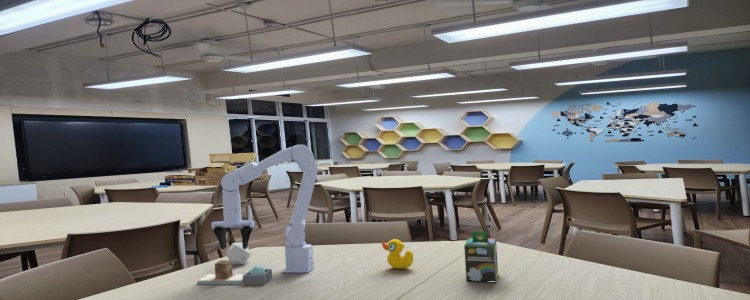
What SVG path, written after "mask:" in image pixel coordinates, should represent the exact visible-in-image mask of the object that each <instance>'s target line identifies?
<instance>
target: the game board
mask: <svg viewBox="0 0 750 300" xmlns="http://www.w3.org/2000/svg"><path fill="white" fill-rule="evenodd" d="M244 274H245V273H240V274H239V273H238V274H237V273H236V274H234V273H233V275H232V276H231V277H229V278H228V279H216V278H215V273H214V274H213V273H209V274H206V275H205V276H203V277H201V278H200V279H198V280H197V281H196V283H197V285H242V284H243V275H244Z"/></svg>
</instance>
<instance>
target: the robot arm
mask: <svg viewBox="0 0 750 300" xmlns="http://www.w3.org/2000/svg"><path fill="white" fill-rule="evenodd" d="M315 160H316V159H315V158H314V153H313V152H312V150H311V149H310V148H309V147H308V146H307V145H305V144H296V145H292V146H290V147H287V148H284V149H281V150H279V151H277V152H276V153H274V154H271V155H270V156H268V157H266V158H264V159H263V160H261V161H259V162H254V161H250V162H249V161H246V162H245V163H244V165H243V166H241V167H239V168H237V169H231V172H232V173H231V172H230V173H229V172H228V173H226V174H225V175H223V177H222V178H221V181H220V184H221V187H222V211H223V212H222V213H223V220H221V221H212V222H211V223H210V224H211V229H213V230H212V232H213V234H214V236H215V237H216V239H217V240H218V242H219V245H220V250H223V251H224V250H226V249H227V228H240V229H239V230H240V236H241V240H242V243H243V249H246V248H247V247H249V240H250V236H251V233H252V231H253V229H254V227H255V225H256V224H255V220H248V219H247V220H245V219H242V218H243V217H242V206H241V194H240V185H242V186H244V185H246V184H247V183H250V182H251V181H253V180H254V181H255V179H257V178H259V177H260V176H261V175H262V172H263V171H265V170H268V169H269V168H271V167H273V166H276V165H277V164H279V163H281V162H292V161H293V162H295V163H296V164H297V165H298V166H299V168H300V169H301V170H302V171H301V172H303V174H302V178H301V182H300V185H299V189H298V193H297V197H296V201H295V203H294V208H293V212H292V216H291V217H290V221H289V223H288V225H287V226H286V227H285V229H284V236H285V238H286V242H285V243H284V252H285V253H284V254H285V255H284V256H285V258H284V259H285V268H284V269H283V270H281V272H282V273H286V274H287V273H296V274H297V273H302V274H303V273H309V272H310V271H311V270H312V269H313V268H314V267H315V263H314V249H313V247H314V246H313V245H312V244H310V243H309V244H307V243H306V241H305V239H306V233H305V228H306V219H307V216H308V215H307V214H308V212H309V208H310V204H311V203H310V202H311V199H312V195H313V192H314V188H315V184H316V179H317V177H318V173H319V172H318V171H319V170H318V166H317V163H316V161H315Z"/></svg>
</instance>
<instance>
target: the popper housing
mask: <svg viewBox="0 0 750 300" xmlns="http://www.w3.org/2000/svg"><path fill="white" fill-rule="evenodd" d="M243 274H244V275H243V283H242V284H243V285H244V286H264V285H266V284H267V283H268V282H269V281H271V280H272V279H273V269H272V268H265V273H264V274H263V275H250V270H248V271H247V272H246V273H243Z"/></svg>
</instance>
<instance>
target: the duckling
mask: <svg viewBox="0 0 750 300" xmlns="http://www.w3.org/2000/svg"><path fill="white" fill-rule="evenodd" d="M381 246H382V248H383V249H384V250H386V251H388V252H389V254H388V255H387V259H386V260H387V263H388V264H389V266H390V267H392V268H394V270H395V269H396V270H406V269H408V268H410V267H411V266H412V265H413V262H414V254H413V252H412V251H411V250H406V251H405V252H404V256H402V255H401V253H402V252H403V250H404V248H405V244H404V243H403V242H402V241H401V240H400V239H397V238H393V239H391V240H389V241H388V242H387V243H386V242H385V241H382V242H381Z"/></svg>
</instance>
